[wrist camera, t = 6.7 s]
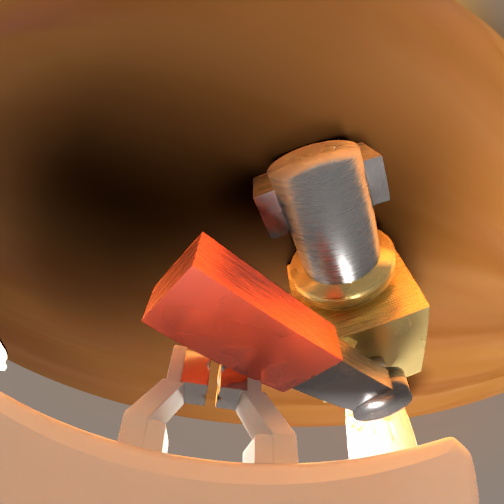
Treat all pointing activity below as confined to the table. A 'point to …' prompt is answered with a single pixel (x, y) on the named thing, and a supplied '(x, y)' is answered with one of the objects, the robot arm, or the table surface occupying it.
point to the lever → (267, 333)
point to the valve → (345, 249)
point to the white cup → (379, 435)
